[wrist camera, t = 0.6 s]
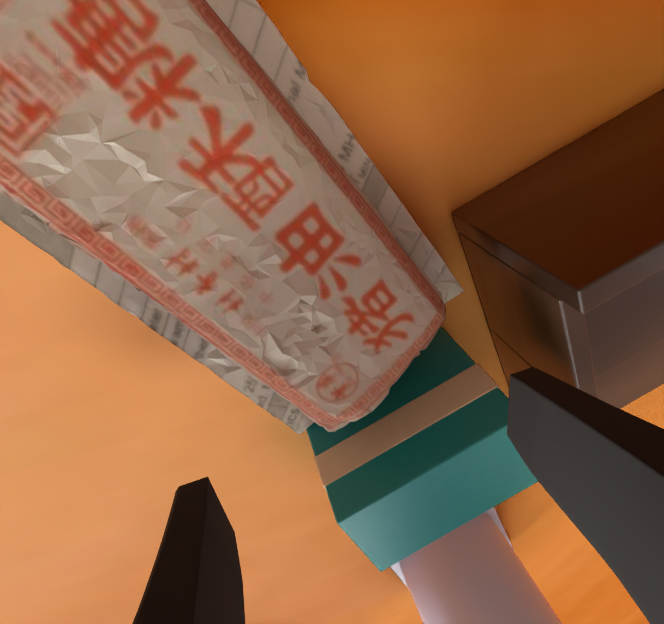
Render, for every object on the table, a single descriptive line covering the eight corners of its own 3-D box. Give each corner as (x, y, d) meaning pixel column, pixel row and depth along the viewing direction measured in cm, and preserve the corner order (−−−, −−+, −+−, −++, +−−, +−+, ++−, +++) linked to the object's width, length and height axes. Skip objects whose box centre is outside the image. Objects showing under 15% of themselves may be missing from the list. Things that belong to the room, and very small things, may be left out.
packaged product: (-270, 132, 9) (93, -295, 7) (-126, 106, 13) (124, -174, 11) (317, 494, 18) (518, 335, 17) (293, 414, 22) (453, 280, 21)
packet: (466, 384, 25) (546, 478, 19) (336, 459, 25) (380, 574, 19) (442, 324, 22) (525, 413, 17) (297, 408, 22) (334, 523, 17)
